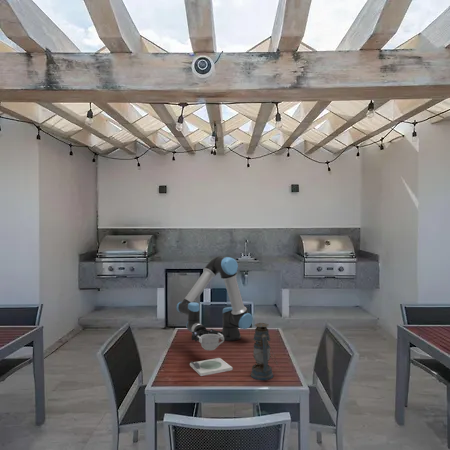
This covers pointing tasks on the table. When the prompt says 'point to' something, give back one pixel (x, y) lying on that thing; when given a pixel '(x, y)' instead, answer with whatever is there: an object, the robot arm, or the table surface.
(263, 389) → the table surface
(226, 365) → the record player
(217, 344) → the teacup
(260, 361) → the lantern
